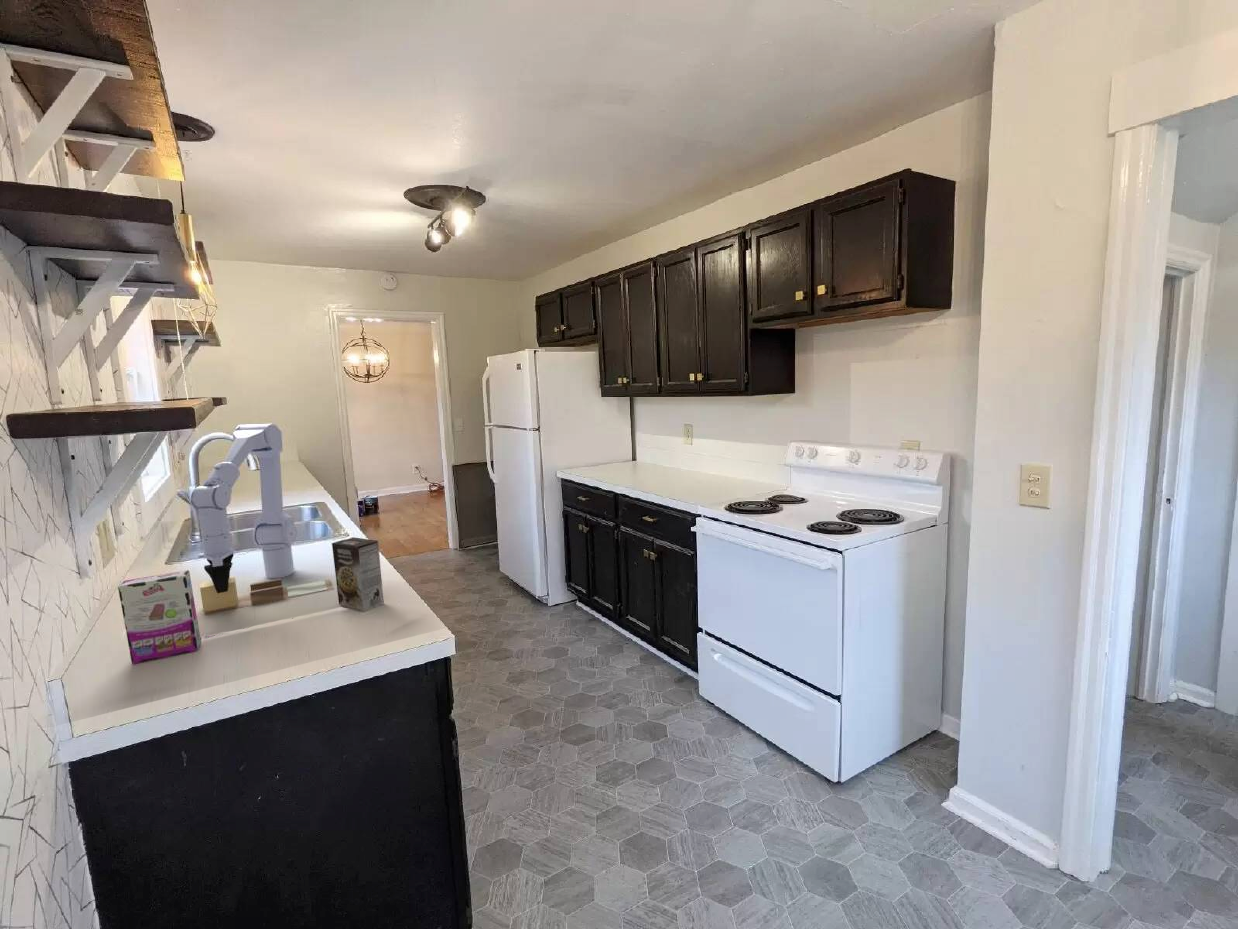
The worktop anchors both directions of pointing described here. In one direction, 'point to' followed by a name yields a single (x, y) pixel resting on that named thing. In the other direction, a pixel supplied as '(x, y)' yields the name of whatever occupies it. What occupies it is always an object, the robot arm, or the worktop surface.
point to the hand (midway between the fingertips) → (223, 587)
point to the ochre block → (218, 596)
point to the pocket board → (276, 593)
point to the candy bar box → (159, 616)
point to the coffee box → (358, 573)
